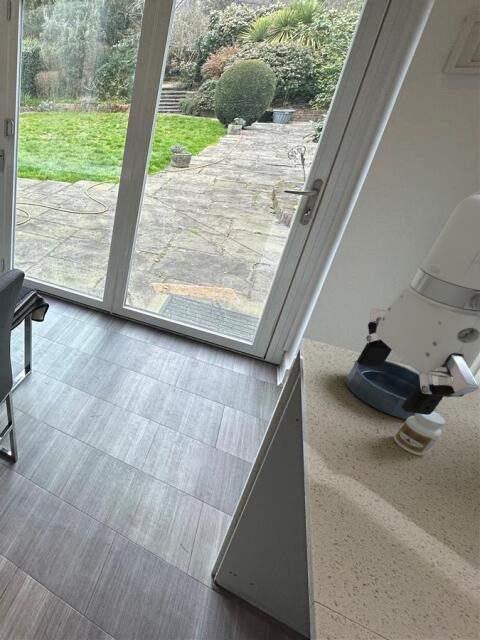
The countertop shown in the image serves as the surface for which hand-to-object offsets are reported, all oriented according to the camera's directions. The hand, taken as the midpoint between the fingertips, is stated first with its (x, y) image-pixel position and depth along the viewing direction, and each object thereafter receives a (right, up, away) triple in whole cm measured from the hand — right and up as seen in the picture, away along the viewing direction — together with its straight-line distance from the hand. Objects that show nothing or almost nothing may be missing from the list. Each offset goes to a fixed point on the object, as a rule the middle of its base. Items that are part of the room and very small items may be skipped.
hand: (390, 386), depth 61 cm
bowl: (+25, -10, +25) cm, 36 cm away
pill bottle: (+18, -16, +14) cm, 28 cm away
